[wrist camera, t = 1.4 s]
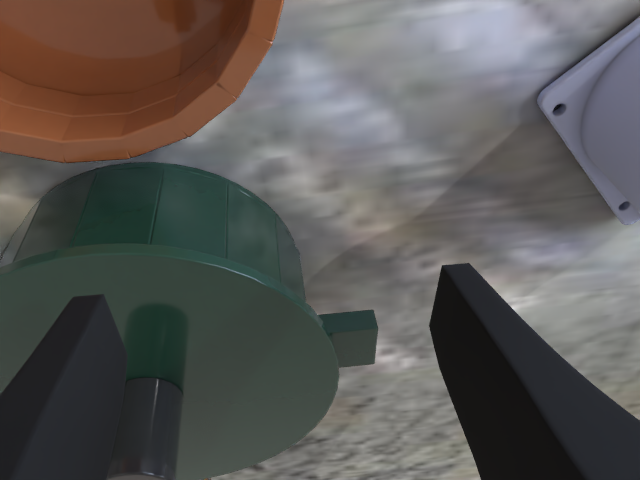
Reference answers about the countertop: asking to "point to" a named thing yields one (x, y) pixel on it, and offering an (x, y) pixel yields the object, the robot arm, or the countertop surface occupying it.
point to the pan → (123, 72)
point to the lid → (184, 353)
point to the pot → (181, 230)
